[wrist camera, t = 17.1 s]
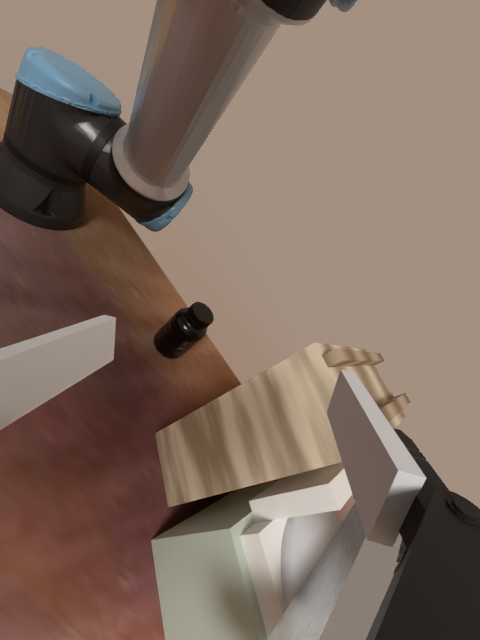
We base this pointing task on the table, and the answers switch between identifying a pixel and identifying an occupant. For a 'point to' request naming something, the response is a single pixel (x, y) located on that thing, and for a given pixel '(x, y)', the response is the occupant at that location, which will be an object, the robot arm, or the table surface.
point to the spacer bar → (341, 588)
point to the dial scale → (291, 534)
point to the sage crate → (209, 574)
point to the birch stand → (267, 425)
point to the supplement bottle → (183, 330)
